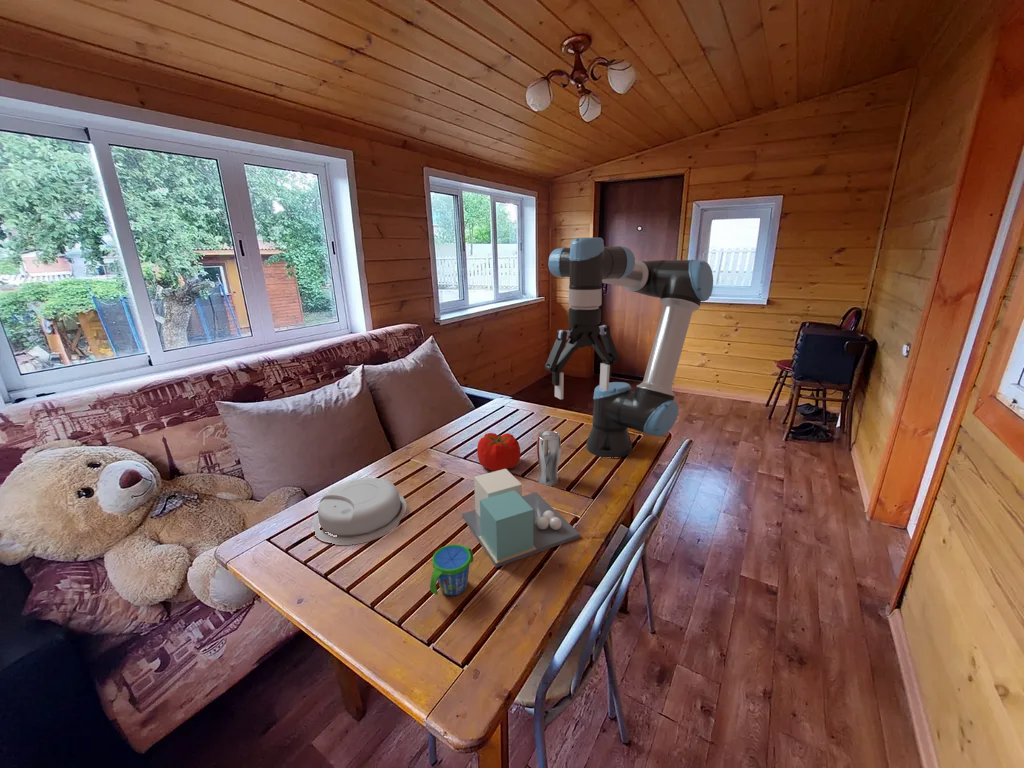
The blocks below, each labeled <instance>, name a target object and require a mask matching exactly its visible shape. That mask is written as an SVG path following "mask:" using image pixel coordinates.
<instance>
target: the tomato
mask: <svg viewBox="0 0 1024 768" xmlns="http://www.w3.org/2000/svg"><path fill="white" fill-rule="evenodd" d="M476 447H477V448H476V449H477V450H476V453H477V458H478V462H479V464H480V466H482V467H483V468H484V469H487V470H490V471H491V472H495V471H498V470H502V469H507V470H510V469H514V467H517V466H518V464H519V462H520V459H521V447H520V443H519V442H518V440H517V438H515V437H514V434H511V433H509V432H508V433H507V432H506V433H504V434H502V435H501V434H499V435H498V434H496V433H493V432H488V433H485V434H484V436H483V437H481V438H480V439H479V441H478V442H477V446H476Z"/></svg>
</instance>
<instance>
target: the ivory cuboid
mask: <svg viewBox="0 0 1024 768" xmlns="http://www.w3.org/2000/svg"><path fill="white" fill-rule="evenodd" d="M473 484H474V506H475V509H474V510H475V511H476V512H477V514H478V515H479V516H480V500H481V499H485V498H489V497H492V496H496V495H499V494H503V493H506V492H510V491H514V490H515V491H516V492H517V493H518V494H519V495H520V496H521V497H522V496H523V484H522V483H521V481H519V480H518V479H517V478H516V477H515V476H514V475H513V474H512V473H511V472H510V471H509V469H502V470H498V471H490V472H488V473H483V474H479V475H476V476H475V475H474V476H473Z"/></svg>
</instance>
